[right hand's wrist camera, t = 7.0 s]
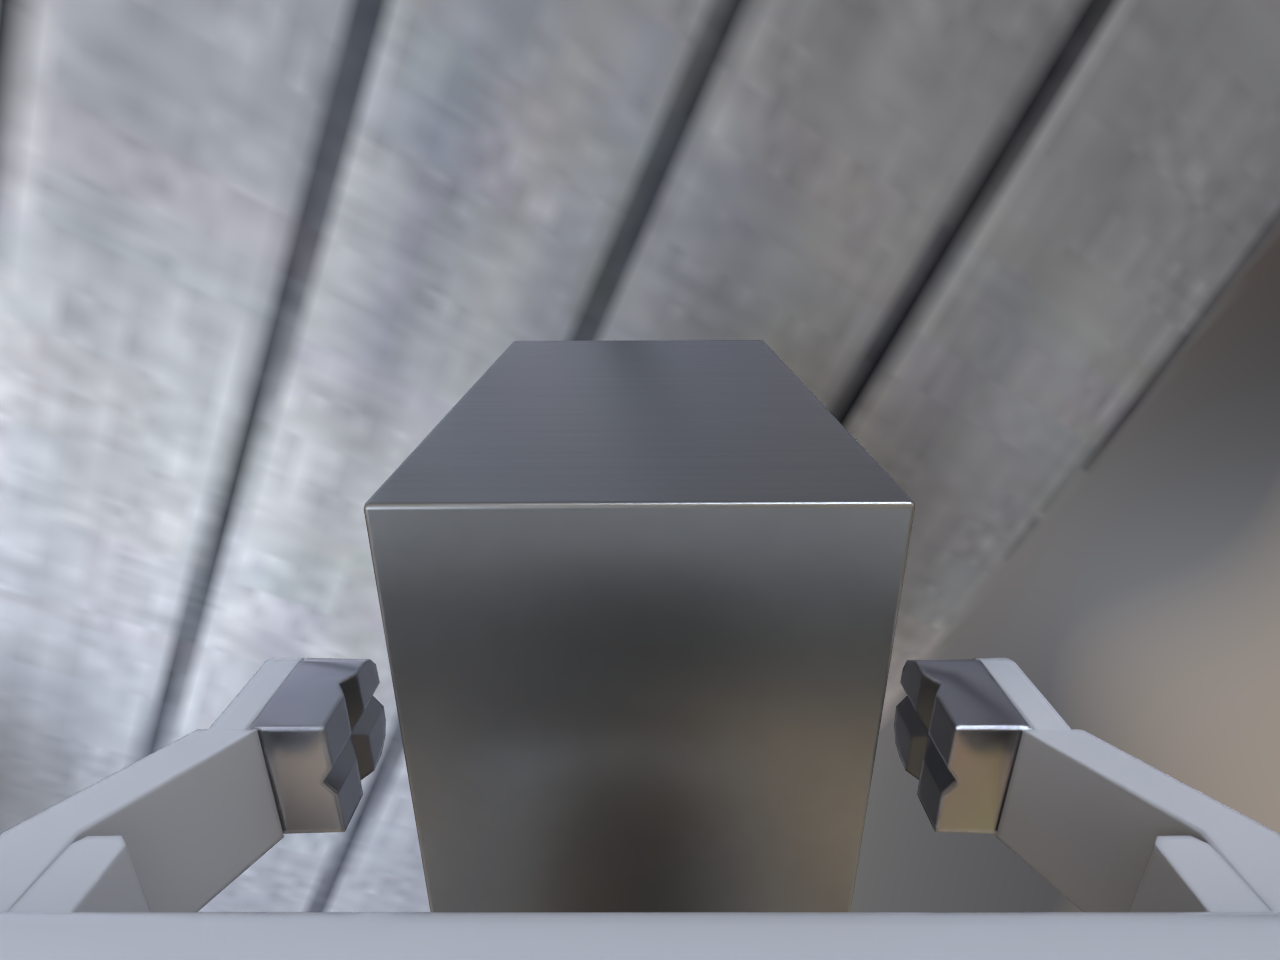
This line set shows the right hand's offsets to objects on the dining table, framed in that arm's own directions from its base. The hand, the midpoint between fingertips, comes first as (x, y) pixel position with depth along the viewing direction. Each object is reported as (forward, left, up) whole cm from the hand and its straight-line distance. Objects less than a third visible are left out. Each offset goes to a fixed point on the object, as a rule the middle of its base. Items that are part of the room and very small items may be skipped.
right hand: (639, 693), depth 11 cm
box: (+7, 0, -9) cm, 11 cm away
